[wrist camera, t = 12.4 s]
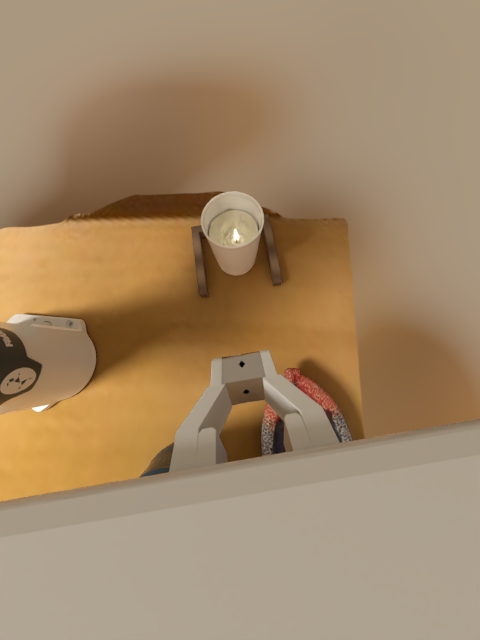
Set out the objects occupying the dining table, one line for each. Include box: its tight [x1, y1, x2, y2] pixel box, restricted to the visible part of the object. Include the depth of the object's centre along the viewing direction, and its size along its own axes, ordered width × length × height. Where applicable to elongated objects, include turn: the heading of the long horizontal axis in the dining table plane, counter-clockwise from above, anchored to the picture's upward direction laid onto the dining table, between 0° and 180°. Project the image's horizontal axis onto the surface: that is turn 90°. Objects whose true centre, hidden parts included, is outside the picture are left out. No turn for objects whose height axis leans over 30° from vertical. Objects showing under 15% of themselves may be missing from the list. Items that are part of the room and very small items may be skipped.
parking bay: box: [191, 215, 282, 297], centre depth 38 cm, size 16×17×2 cm
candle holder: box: [201, 192, 264, 276], centre depth 33 cm, size 10×10×12 cm
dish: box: [261, 368, 353, 456], centre depth 30 cm, size 16×31×5 cm, turn 4°
